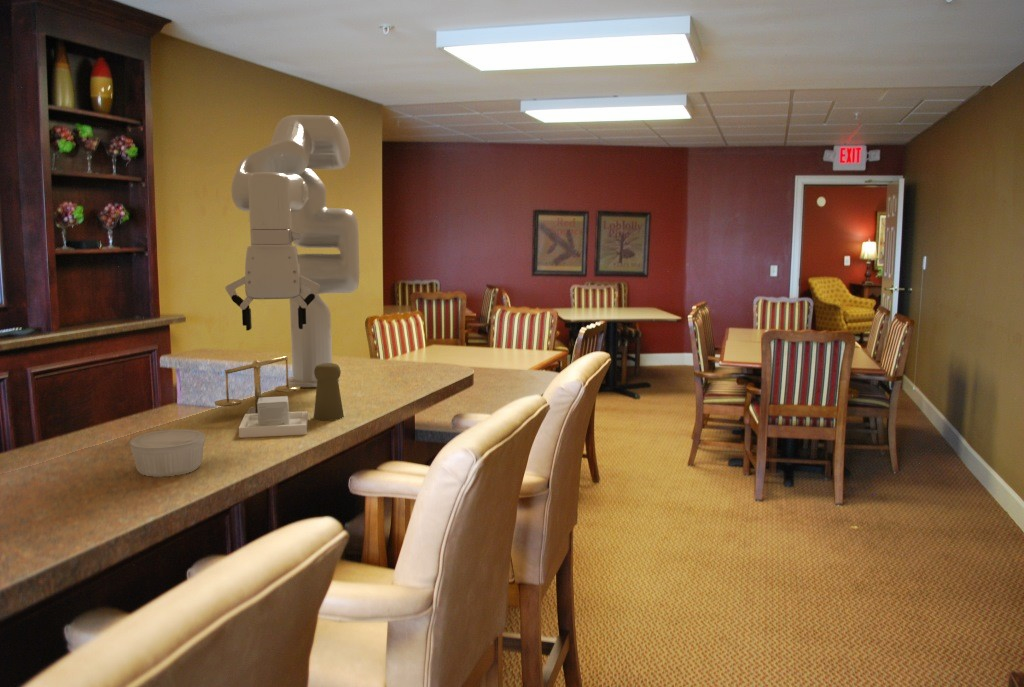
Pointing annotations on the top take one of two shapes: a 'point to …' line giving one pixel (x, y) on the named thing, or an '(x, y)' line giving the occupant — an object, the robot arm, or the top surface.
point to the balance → (256, 383)
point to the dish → (274, 426)
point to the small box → (273, 411)
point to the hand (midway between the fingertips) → (275, 328)
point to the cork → (328, 392)
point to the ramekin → (168, 452)
